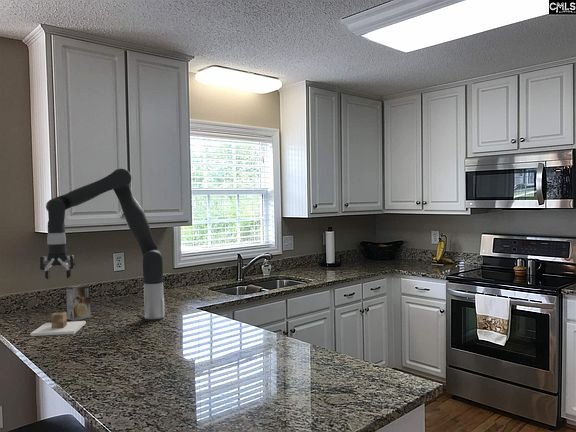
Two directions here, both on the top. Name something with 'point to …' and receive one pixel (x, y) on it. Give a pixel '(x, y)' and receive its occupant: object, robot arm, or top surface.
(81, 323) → the cutting board
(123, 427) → the top surface
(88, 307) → the coffee box
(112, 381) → the top surface
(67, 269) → the robot arm
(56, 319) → the brown short block
